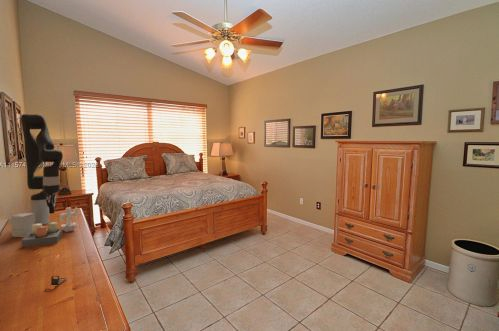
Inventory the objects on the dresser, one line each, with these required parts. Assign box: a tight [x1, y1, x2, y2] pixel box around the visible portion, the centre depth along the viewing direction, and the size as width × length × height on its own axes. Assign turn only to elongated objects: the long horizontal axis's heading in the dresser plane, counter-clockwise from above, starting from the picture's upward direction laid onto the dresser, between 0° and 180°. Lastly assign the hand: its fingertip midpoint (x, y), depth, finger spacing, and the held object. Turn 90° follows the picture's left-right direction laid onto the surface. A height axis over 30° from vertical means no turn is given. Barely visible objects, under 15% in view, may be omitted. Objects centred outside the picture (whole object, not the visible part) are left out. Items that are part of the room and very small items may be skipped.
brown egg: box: [37, 225, 48, 238], centre depth 134 cm, size 4×4×6 cm
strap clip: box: [50, 275, 68, 286], centre depth 96 cm, size 8×3×4 cm, turn 179°
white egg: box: [32, 223, 43, 235], centre depth 137 cm, size 4×4×6 cm
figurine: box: [58, 206, 79, 233], centre depth 154 cm, size 7×9×15 cm
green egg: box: [47, 221, 58, 233], centre depth 141 cm, size 4×4×6 cm
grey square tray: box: [21, 228, 63, 248], centre depth 137 cm, size 14×15×4 cm
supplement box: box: [11, 212, 34, 238], centre depth 143 cm, size 7×7×13 cm
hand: (51, 213), depth 140 cm, fingers closed
